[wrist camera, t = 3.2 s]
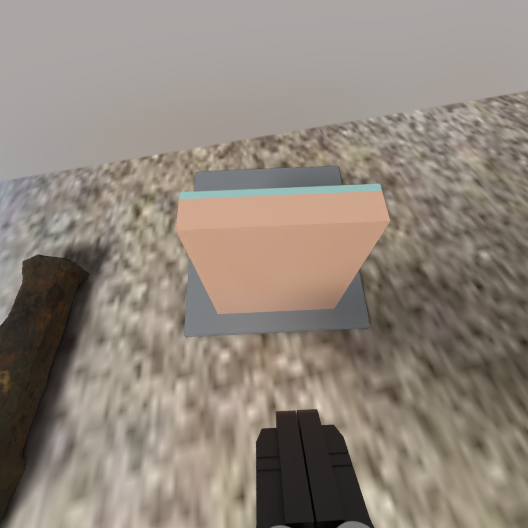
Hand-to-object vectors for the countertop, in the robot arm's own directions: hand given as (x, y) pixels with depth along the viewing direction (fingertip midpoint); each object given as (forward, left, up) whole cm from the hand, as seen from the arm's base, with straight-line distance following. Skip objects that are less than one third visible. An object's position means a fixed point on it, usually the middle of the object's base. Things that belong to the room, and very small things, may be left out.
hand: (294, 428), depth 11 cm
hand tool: (+17, -3, -11) cm, 21 cm away
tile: (0, -9, -10) cm, 13 cm away
